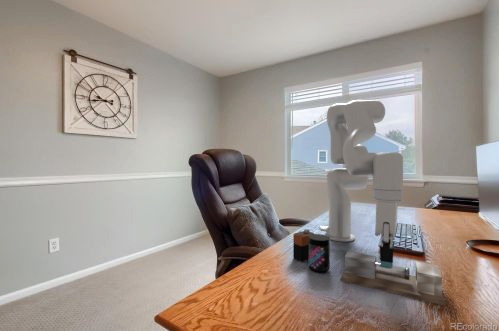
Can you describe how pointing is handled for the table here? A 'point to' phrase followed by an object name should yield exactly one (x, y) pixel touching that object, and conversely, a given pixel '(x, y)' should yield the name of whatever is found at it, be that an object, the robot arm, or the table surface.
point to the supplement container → (319, 253)
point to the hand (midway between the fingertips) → (386, 258)
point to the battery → (301, 245)
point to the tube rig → (395, 278)
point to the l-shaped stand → (392, 269)
